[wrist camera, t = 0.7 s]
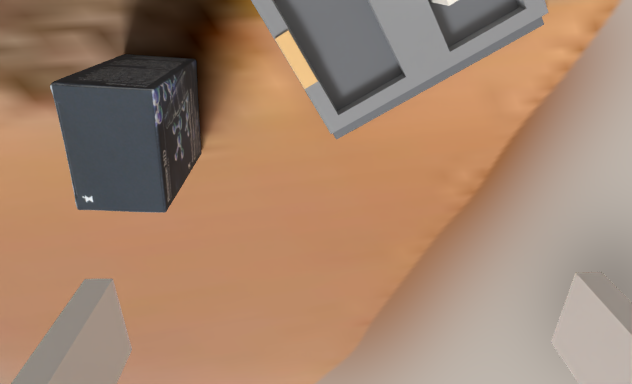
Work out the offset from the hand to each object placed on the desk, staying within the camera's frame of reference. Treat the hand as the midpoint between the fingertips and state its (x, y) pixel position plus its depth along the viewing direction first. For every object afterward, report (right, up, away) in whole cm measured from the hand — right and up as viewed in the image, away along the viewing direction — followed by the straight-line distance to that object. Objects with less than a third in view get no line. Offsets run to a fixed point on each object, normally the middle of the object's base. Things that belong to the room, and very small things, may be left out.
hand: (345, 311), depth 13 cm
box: (-13, +10, +22) cm, 27 cm away
